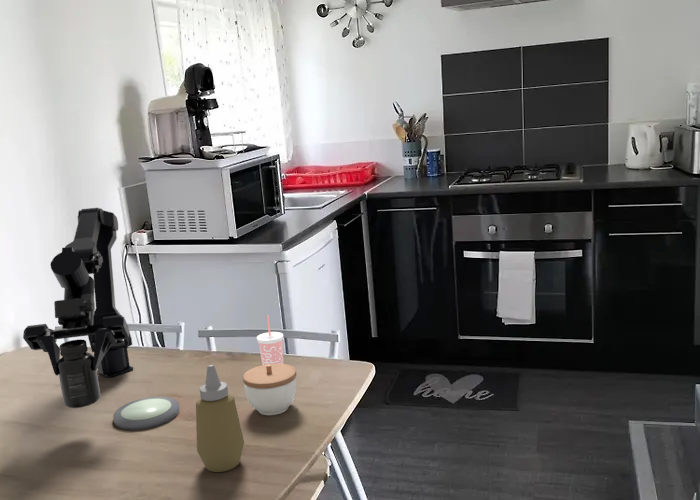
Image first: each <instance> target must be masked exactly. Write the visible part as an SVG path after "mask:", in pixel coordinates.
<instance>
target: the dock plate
mask: <svg viewBox="0 0 700 500" xmlns="http://www.w3.org/2000/svg"><path fill="white" fill-rule="evenodd" d="M179 413H180V405H179V401H178V400H177V399H176V398H173V397H169V396H149V397H144V398H139V399H135V400H132V401H129V402H128V403H125V404H124V405H122V406H120V407H118V408H117V409H116V410H115V411H114V413H113V416H112V417H113V423H114V425H115V426H116V427H117V428H119V429H123V430H131V431H133V430H134V431H136V430H145V429H150V428H154V427H158V426H161V425H163V424H165V423H167V422H169V421H171V420H173V419H175V417H177V415H178V414H179Z"/></svg>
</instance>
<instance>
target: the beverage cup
mask: <svg viewBox="0 0 700 500" xmlns="http://www.w3.org/2000/svg"><path fill="white" fill-rule="evenodd" d="M266 319H267V331H268V332H264V333H261V334H259V335H258V334H257V336H256V342H257V343H258V347H259V352H260V353H259V355H260V358H261V359H260V360H261V365H266V364H284V346H283V345H284V344H283V343H284V342H283V340H284V333H282V332H278V331H271V325H270V324H271V323H270V322H271V321H270V315H269V314H267V315H266Z"/></svg>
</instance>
